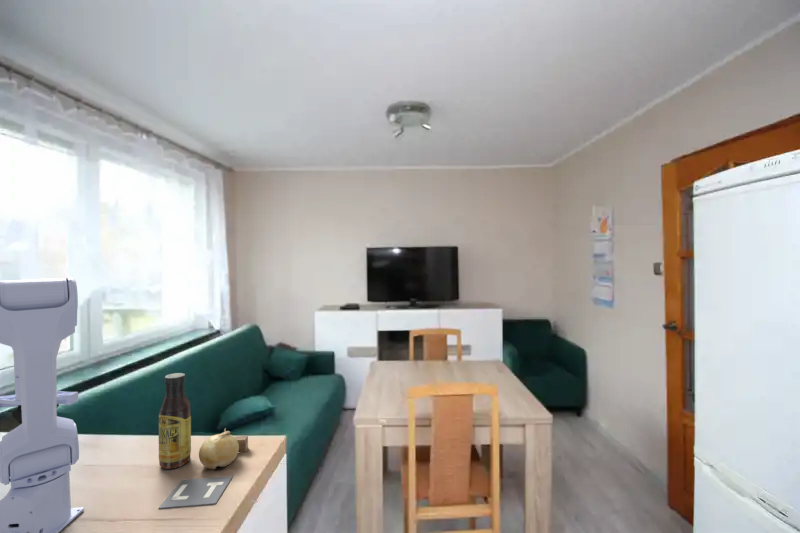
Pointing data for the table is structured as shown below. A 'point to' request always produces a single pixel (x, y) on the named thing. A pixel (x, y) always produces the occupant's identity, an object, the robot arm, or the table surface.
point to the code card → (196, 492)
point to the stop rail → (242, 443)
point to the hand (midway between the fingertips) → (37, 441)
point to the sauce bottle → (174, 424)
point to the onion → (219, 450)
